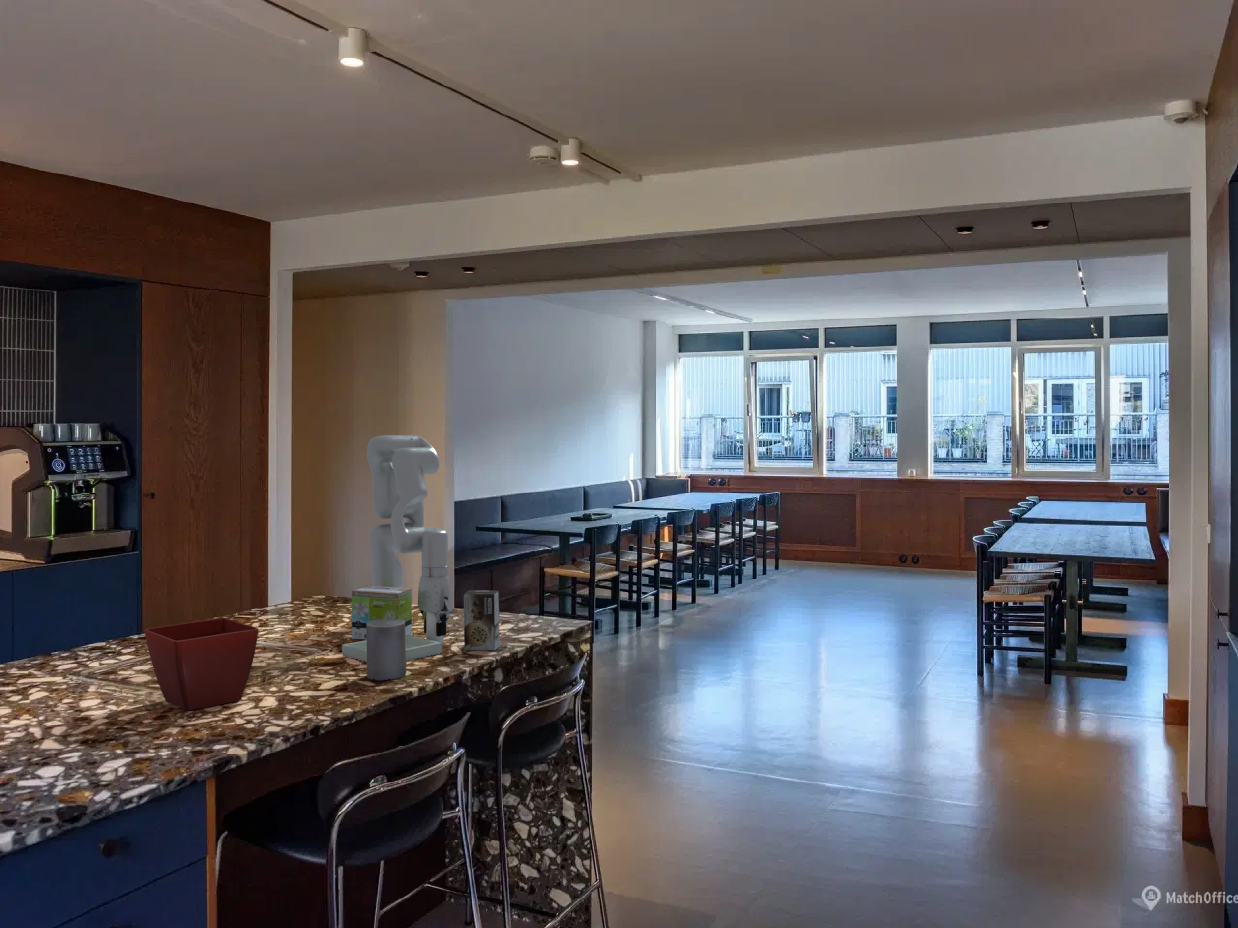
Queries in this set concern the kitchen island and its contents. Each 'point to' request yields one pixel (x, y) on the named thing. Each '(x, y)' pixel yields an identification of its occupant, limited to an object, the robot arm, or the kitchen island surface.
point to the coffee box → (481, 620)
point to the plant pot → (202, 661)
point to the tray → (413, 648)
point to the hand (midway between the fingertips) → (435, 633)
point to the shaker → (432, 627)
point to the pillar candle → (386, 649)
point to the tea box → (380, 607)
